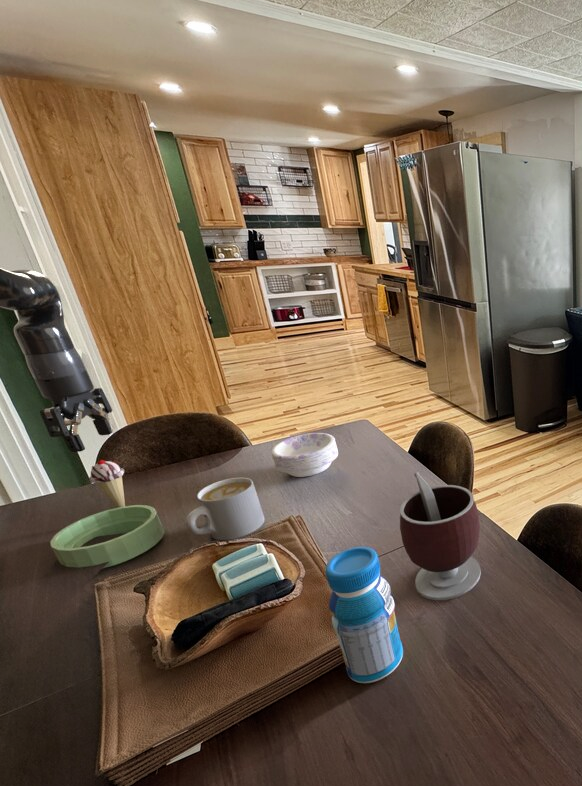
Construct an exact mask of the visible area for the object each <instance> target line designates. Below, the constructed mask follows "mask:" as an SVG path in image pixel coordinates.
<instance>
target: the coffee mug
mask: <svg viewBox="0 0 582 786" xmlns="http://www.w3.org/2000/svg"><path fill="white" fill-rule="evenodd" d="M196 499H197V501H198V504H199V507H196V508H195V509H193V510H192V511H190V512H189V513H188V514H187V515H186V518H185V524H186V528H187V529H188V531H189V532H190V533H191V534H193V535H195V536H204V535H211V537H212V538H213V539H214V540H217V541H230V540H234V539H239V538H242V537H244V536H247V535H250V534H252V533H254V532H255V531H257V530H258V529H259V528H261V527H262V526H263V524H264V523H265V521H266V519H265V518H266V517H265V515H264V512H263V509H262V506H261V503H260V499H259V496H258V494H257V490H256V487H255V484H254V481H253V480H252V479H251V478H248V477H232V478H226V479H222V480H219V481H216V482H213V483H211V484H208V485H207V486H204V487H203V488H202V489H201V490H199V491H198V493H197V494H196ZM200 516H203V517H204V519H205V522H204V524H203V526H202V527H198V526H197V519H198V518H199V517H200Z"/></svg>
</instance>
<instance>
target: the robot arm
mask: <svg viewBox="0 0 582 786" xmlns="http://www.w3.org/2000/svg"><path fill="white" fill-rule="evenodd" d="M0 308H2V309H6V310H10V311H16V314H17V317H18V321H17V323H16V324H15V325H14V326H13V333H14V337H15V339H16V340H17V343H18V345H19V347H20V349H21V351H22V354H23V355H24V358H25V361H26V365H27V367H28V369H29V371H30V374H31V375H32V378H33V380H34V382H35V384H36V386H37V388H38V390H39V392H40V394H41V396H42V397H43V398H45V399H49V400H50V401H51V402H52V407H49V408H41V409H40V410H39V414H40V416H41V419H42V421H43V424H44V426H45V429H46V430H47V433H48V435H49V436H50V438H58V437H59V438H63V441H64V443H65V445H66V447H67V449H68V450H69V451H70V452H71V453H81V452H83V451H85V450H86V447H85V445H84V442H83V441H82V438H81V436H80V434H79V433H78V429H79V426H80V425H81V424H82V420H83V419H85V417H89V418H90V419H92V423H93V426H94V428H95V429H96V431H97V434H98V435H99V436H109V435H111V434H113V430H112V427H111V425H110V422H109V420H108V418H109V414H111V413H113V408H112V406H111V404H110V402H109V400H108V397H107V395H106V394H105V391H104V390H103V388H101V387H98V388H97V387H96V388H95V386H94V384H93V381H92V379H91V376H90V374H89V372H88V370H87V368H86V365H85V363H84V361H83V359H82V357H81V355H80V354H79V352H78V350H77V349H76V347H75V344H74V343H73V340H72V338H71V336H70V334H69V332H68V330H67V328H66V325H65V324H66V323H65V315H64V310H63V303H62V300H61V296H60V293H59V291H58V288H57V287H56V286H55V284H54V283H53V282H52V281H51V280H50V278H48V277H47V276H46V275H44V274H43V273H40V272H38V271H36V270H32V269H16V270H6V269H4V268H1V267H0ZM100 405H102V406H103V407H102V406H100ZM68 426H69V429H68ZM56 427H57V429H56Z"/></svg>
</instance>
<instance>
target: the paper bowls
mask: <svg viewBox="0 0 582 786" xmlns="http://www.w3.org/2000/svg"><path fill="white" fill-rule="evenodd" d="M338 449H339V448H338V446H337V443H336V438H335V437H334V435H331V434H329V433H326V432H310V433H304V434H298V435H294V436H292V437H288V438H286V439H284V440H281V441H280V442H278V443H276V444H275V445H274V446H273V447H272V449H271V456H272V459H273V463H274V466H275V469H276V470H277V471H278V472H282V473H287V474H288V475H290V476H292V477H296V478H305V477H311V476H316V475H318V474H320V473H323V472H324V471H326V470H327V469H329V467H330V466H331V464H332V463H333V462H334V460H336V459H337V458H338V456H339V450H338Z"/></svg>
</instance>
